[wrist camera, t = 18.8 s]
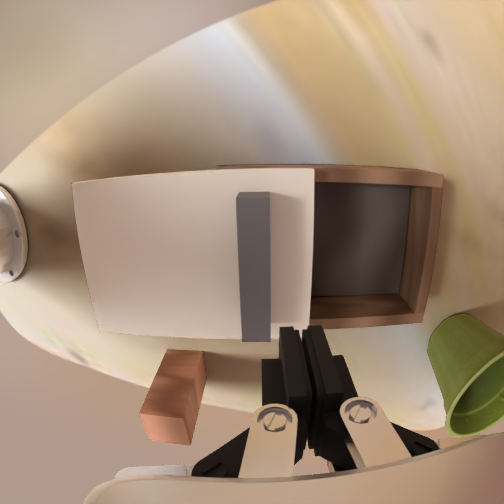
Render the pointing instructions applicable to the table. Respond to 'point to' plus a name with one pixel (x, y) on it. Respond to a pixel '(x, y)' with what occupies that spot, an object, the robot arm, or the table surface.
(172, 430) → the salmon orange block
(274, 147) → the table surface
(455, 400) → the plant pot
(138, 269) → the toolbox lid
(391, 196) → the toolbox
